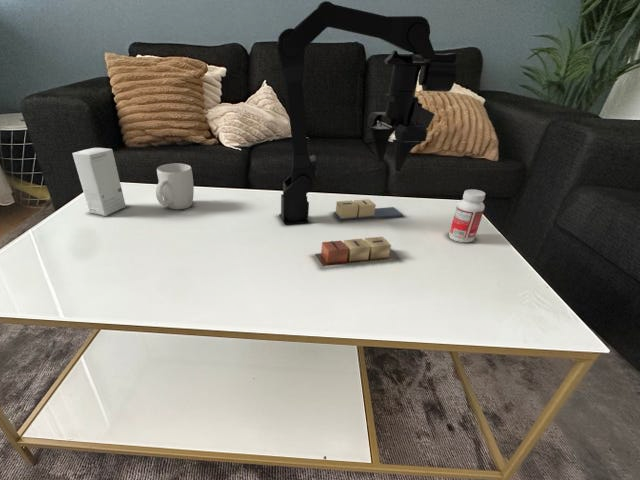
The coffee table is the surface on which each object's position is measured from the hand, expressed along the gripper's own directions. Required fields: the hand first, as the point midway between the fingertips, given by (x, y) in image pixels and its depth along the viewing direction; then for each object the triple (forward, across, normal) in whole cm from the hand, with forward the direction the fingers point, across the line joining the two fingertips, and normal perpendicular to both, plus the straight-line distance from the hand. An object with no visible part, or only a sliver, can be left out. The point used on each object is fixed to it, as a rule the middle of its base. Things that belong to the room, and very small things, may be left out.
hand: (388, 165), depth 100 cm
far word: (+14, +4, +1) cm, 15 cm away
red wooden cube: (+13, -19, +20) cm, 31 cm away
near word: (+14, -19, +15) cm, 28 cm away
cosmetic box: (+15, +24, +70) cm, 75 cm away
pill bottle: (+14, -15, -15) cm, 25 cm away
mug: (+15, +21, +52) cm, 58 cm away
